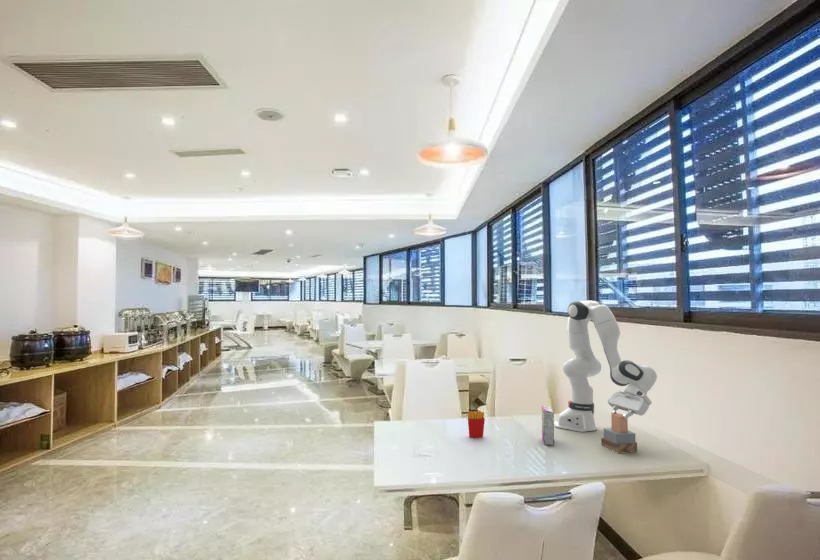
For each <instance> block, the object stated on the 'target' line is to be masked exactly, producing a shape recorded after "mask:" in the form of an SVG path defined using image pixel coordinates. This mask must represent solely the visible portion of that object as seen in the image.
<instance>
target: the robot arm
mask: <svg viewBox="0 0 820 560" xmlns="http://www.w3.org/2000/svg"><path fill="white" fill-rule="evenodd" d="M567 314H568V318H567V335H568V338H567V339H568V344H569V348H570V349H571V351H573V353H574V355H575V357H576V358H570V359H568V360H566V361H565V362H564V364H563V366H562V369H563V370H562V371H563V373H564V374H565V375H566V377H568V380H569V383H570V385H571V399H572V400H570V399H569V400H568V401H567V403H568V407H567V408H566V409H565V410H563V411H561V412H560V413H559V414H558V416H557V417H558V418H557V420H555V421H554V428H558V429H564V430H570V431H575V432H580V433H584V432H592V431H593V432H594V431H596V430H597V426H596V422H595V403H594V389H593V387H592V386H590V383H589V379H588V378H590V377H595V376H596V375H598V374H600V372H601V371H602V363H601V362H600V361H599V359H597V358H596V356H595V354H594V352H593V349H592V347H591V342H590V335H589V328H588V327H589V326H588V324H589V322H592V323H593V325H594V327H595V330H596V333H597V335H598V336H599V340H600V342H601V345H602V348H603V351H604V355H605V356H606V359H607V360H606V361H607V363H608V365H609V371H610V372H609V375H610V377H609V378H610V379H611V381H612V382H613V383H614V384H615V385H617V386H619V387H626V388H625V389H624V390H623V391H621V390H618V391H616V392H614V393H613V394H612V395H611V396H610V397H609V398H608V400H607V404H608V405H609V406H610V407H611V408H612V410H611V414H618V412H617V411H619V410H621V411H625V412H626V413H623V418H624V419H629V417H632V416H633V415H638V416H644V415H646V413H647V411H648V409H649V408H650V405H652V401H651V399H650V398H649V396H648V392H649V391H651V389H652V388H653V386H654V385H655V383H656V381H657V377H658V376H657V373H656V371H655V369H653V367H650V366H649V365H641V364H637V363H635V362H634V361H632V360H627V359H625V360H622V359H621V357H620V354H619V351H618V341H619V338H620V335H621V331H620V327H619V323H618V322H617V320H616V317H615V315H614V314H613V312H612V311H611V309H610V307H609V306H607V305H606V304H604V303H603V302H600V301H598V300H588V299H587V300H579V301H578V300H576V301H575V300H574V301H572V302H571V303H569V305H568V307H567Z"/></svg>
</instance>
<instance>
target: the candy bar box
mask: <svg viewBox="0 0 820 560" xmlns="http://www.w3.org/2000/svg"><path fill="white" fill-rule="evenodd" d="M554 417H555V416H554V410H553V407H552V406H547V405H546V406H545V405H542V406H541V427H542V428H541V430H542V431H541V434H542V435H541V437H542V441H543V444H544V445H545V446H554V445H555V429H554V428H555V426H554V422H555V421H554V419H555V418H554Z"/></svg>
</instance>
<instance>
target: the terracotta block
mask: <svg viewBox="0 0 820 560" xmlns="http://www.w3.org/2000/svg"><path fill="white" fill-rule="evenodd" d="M623 415H624V413H623V414H622V413H617V414H611V415H610V416H611V417H610V418H611V419H610V422H611V428H612V430H614V431H617V432H619V433H620V432H628V430H629V427H628V425H629V424H628V421H629V420H628V419H629V418H628V419H624V418H623Z"/></svg>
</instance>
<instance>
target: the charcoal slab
mask: <svg viewBox="0 0 820 560" xmlns="http://www.w3.org/2000/svg"><path fill="white" fill-rule="evenodd" d="M603 438H606V439H608V440H610V441H612V442H614V443H616V444H625V443H637V441H636V433H635V432H633V431H630V430H629V429H628V432H620V433H619V432H617V431H614V430H612V427H605V428H604V427H603Z"/></svg>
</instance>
